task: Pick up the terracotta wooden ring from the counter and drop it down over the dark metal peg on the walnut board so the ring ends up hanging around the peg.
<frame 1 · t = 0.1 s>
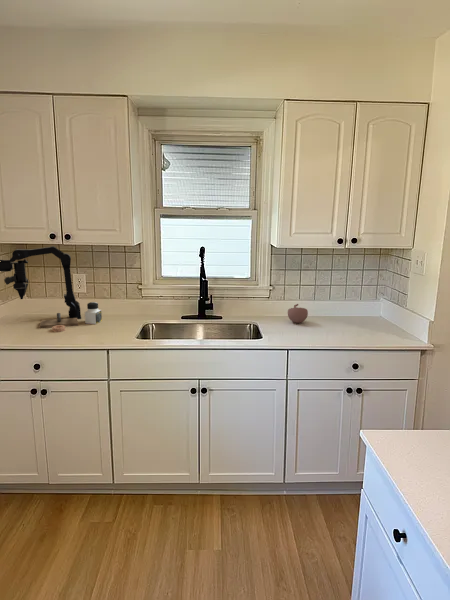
hand: (22, 297, 240), 15 cm above the counter, fingers open, 9 cm apart
reddish brown apple: (297, 323, 248), on the counter
medicine bottle: (93, 322, 243), on the counter
ring: (58, 330, 227), on the counter
hook board: (59, 324, 239), on the counter
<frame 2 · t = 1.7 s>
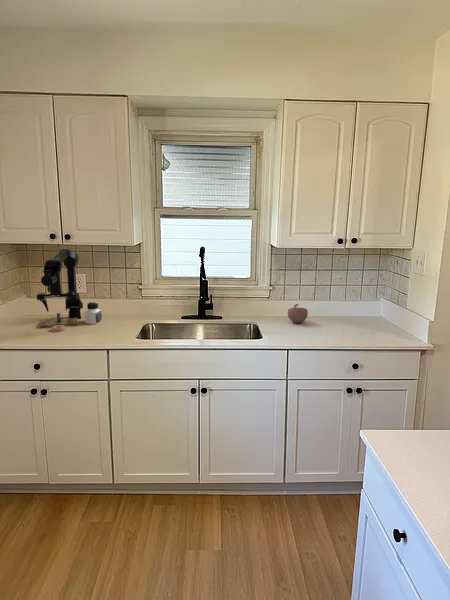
hand: (57, 311, 224), 11 cm above the counter, fingers open, 9 cm apart
nothing on the counter moved.
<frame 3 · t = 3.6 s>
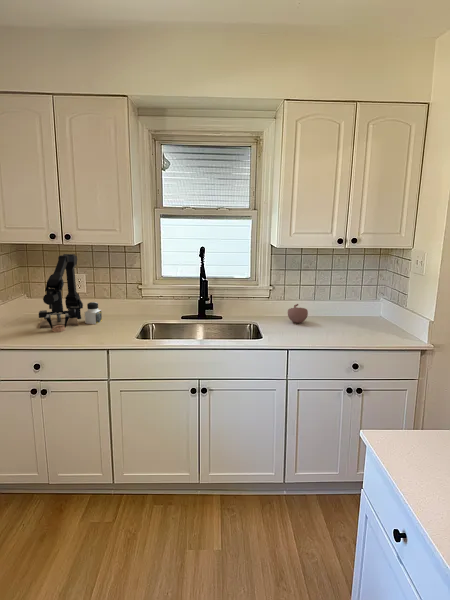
hand: (58, 328, 226), 1 cm above the counter, fingers closed on ring, 6 cm apart
ring: (58, 330, 227), on the counter, touching gripper
everything else where it was.
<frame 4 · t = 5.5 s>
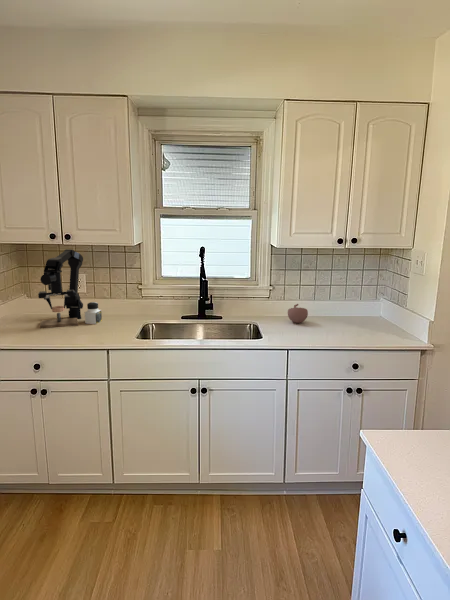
hand: (58, 308, 231), 11 cm above the counter, fingers closed on ring, 6 cm apart
ring: (58, 310, 232), point 9 cm above the counter, touching gripper
everything else where it was.
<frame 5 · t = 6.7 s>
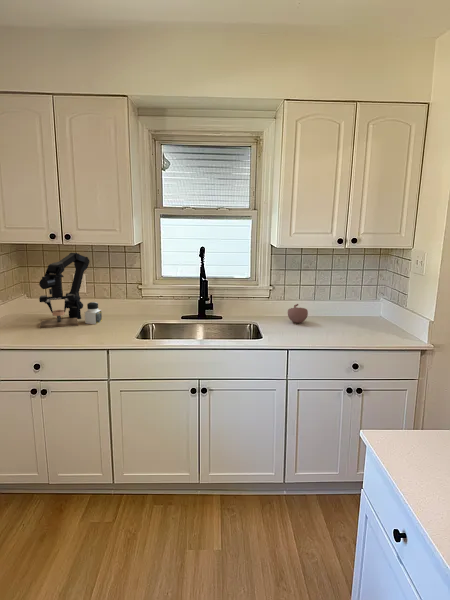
hand: (58, 312, 237), 7 cm above the counter, fingers closed on ring, 6 cm apart
ring: (58, 314, 237), point 6 cm above the counter, touching gripper
everything else where it was.
when the fingers open (5 cm above the counter, at t = 7.6 s): ring drops 2 cm, resting on hook board.
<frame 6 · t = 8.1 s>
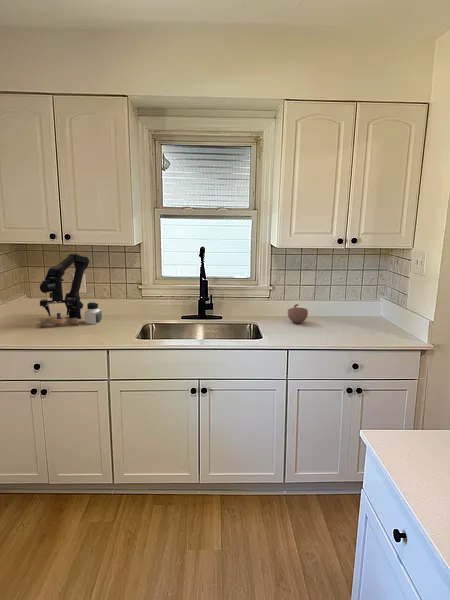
hand: (58, 316, 238), 5 cm above the counter, fingers open, 9 cm apart
ring: (59, 321, 238), point 1 cm above the counter, touching hook board
everything else where it was.
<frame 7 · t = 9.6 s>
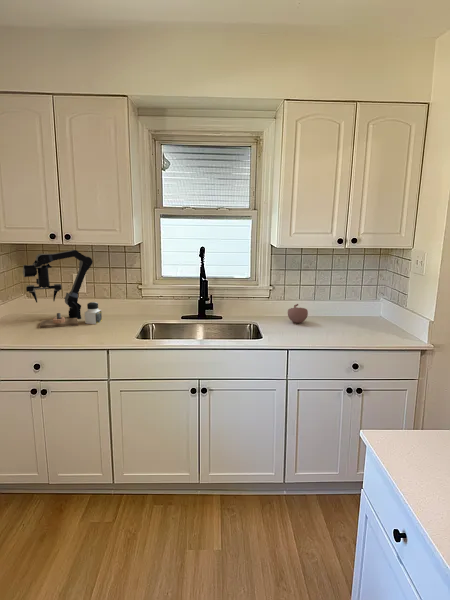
hand: (45, 301, 241), 12 cm above the counter, fingers open, 9 cm apart
nothing on the counter moved.
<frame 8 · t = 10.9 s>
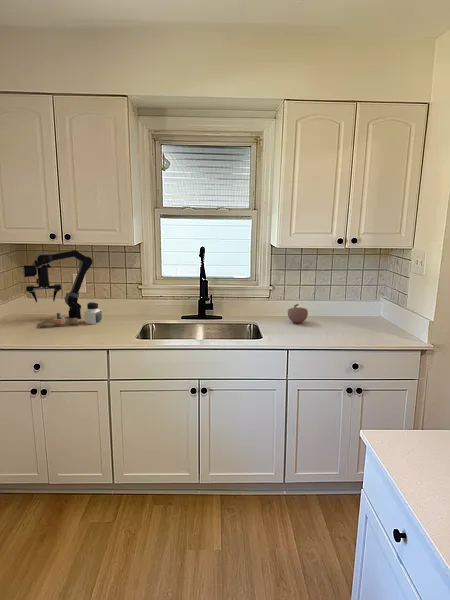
hand: (45, 301, 241), 12 cm above the counter, fingers open, 9 cm apart
nothing on the counter moved.
at the end: ring 0.0 cm off-centre on the hook board, point 1.5 cm above the hook board's base; the gripper is holding nothing; ring tilted 0° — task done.
